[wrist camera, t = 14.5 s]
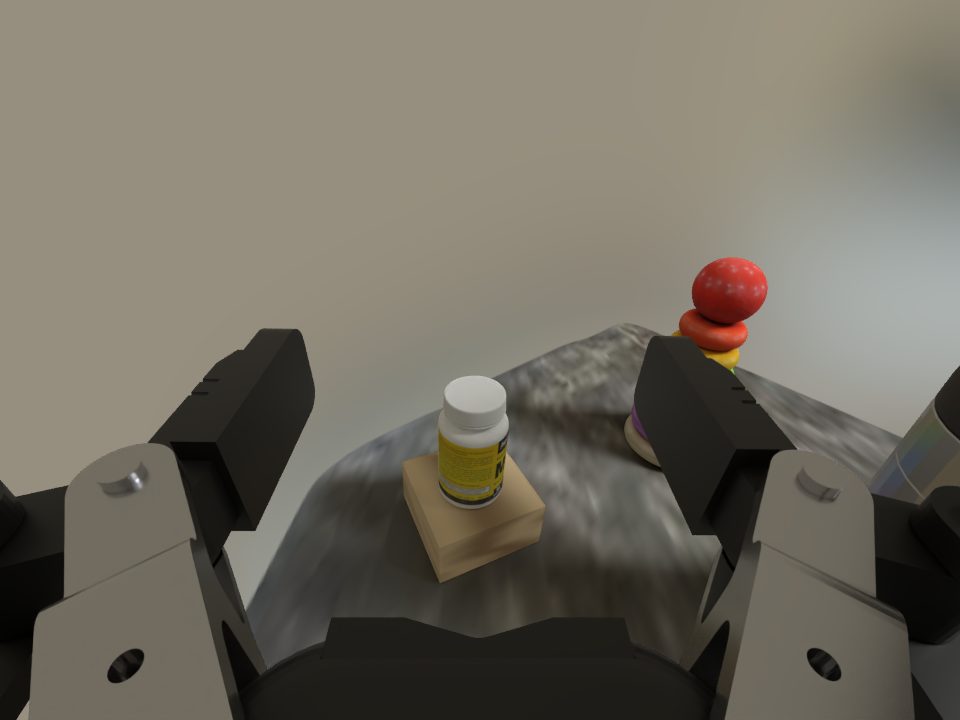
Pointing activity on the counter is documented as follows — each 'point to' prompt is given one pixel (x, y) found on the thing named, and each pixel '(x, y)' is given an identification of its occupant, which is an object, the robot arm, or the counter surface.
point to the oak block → (470, 519)
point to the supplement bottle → (472, 441)
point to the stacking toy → (713, 324)
